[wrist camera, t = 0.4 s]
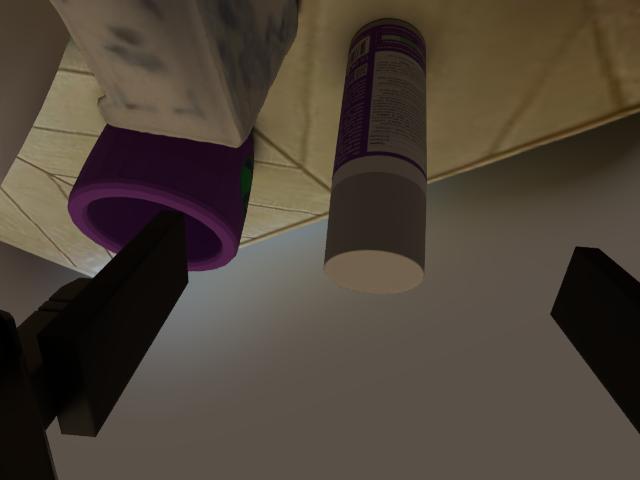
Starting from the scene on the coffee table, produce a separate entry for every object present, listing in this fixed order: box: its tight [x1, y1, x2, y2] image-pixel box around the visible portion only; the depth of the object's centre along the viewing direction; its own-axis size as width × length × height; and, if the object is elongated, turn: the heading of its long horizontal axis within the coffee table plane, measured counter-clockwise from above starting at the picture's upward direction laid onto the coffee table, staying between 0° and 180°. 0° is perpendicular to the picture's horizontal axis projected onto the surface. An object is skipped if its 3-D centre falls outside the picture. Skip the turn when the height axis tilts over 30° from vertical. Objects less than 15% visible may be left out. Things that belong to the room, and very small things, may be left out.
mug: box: [68, 124, 254, 271], centre depth 35 cm, size 17×11×10 cm, turn 171°
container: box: [324, 19, 427, 294], centre depth 23 cm, size 5×5×15 cm
